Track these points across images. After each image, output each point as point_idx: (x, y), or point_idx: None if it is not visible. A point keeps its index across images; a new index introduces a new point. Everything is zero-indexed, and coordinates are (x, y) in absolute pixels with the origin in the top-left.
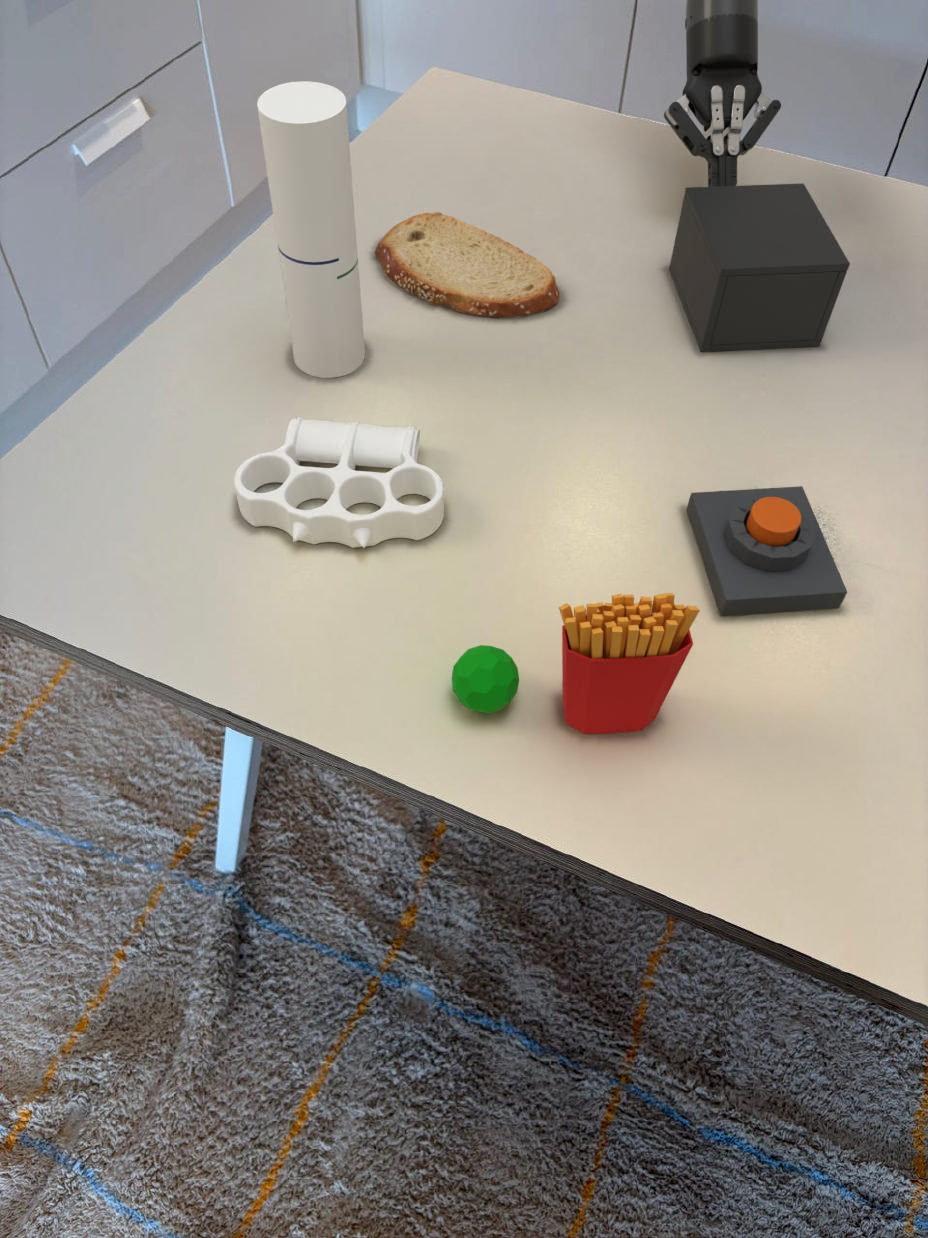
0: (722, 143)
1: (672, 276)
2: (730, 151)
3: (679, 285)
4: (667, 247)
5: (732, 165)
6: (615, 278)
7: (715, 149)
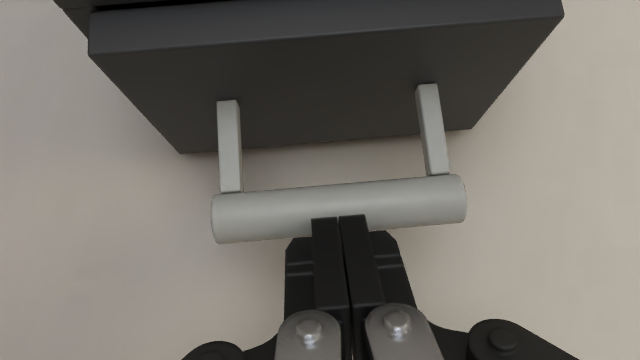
0: (379, 352)
1: None
2: (327, 322)
3: None
4: (471, 213)
5: (307, 296)
6: (617, 70)
7: (415, 322)
